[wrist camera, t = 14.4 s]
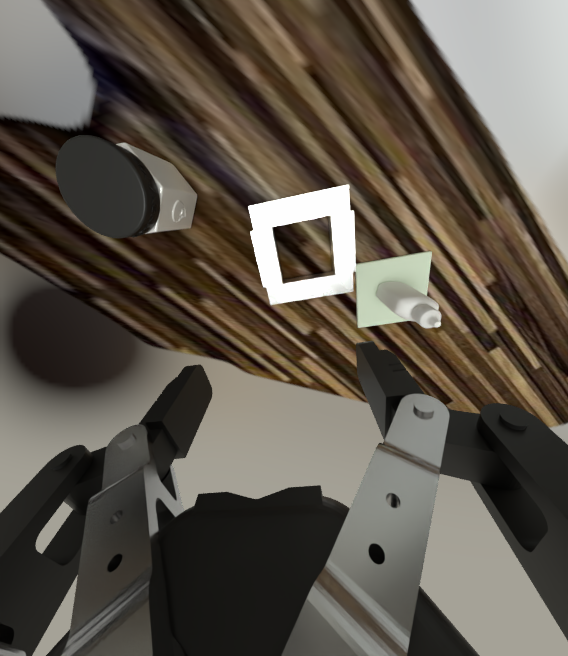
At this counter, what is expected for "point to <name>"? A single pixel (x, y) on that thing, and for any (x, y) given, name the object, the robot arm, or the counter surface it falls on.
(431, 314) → the eye dropper bottle
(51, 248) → the counter surface
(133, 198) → the jar
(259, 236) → the collar block
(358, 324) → the sage mat
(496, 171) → the counter surface
